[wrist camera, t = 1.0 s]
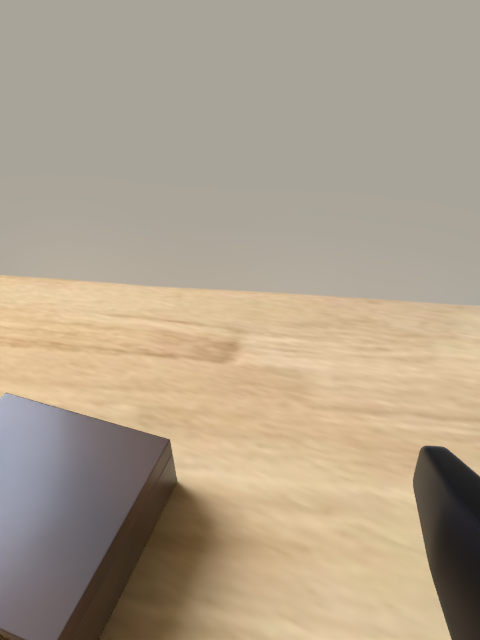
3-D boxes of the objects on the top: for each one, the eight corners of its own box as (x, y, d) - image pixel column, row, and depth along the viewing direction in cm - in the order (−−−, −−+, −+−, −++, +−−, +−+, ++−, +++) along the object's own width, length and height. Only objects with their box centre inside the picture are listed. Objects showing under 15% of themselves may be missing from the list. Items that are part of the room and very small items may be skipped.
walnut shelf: (77, 683, 19) (51, 653, 16) (-113, 592, 21) (-161, 555, 19) (177, 480, 26) (170, 439, 24) (26, 433, 29) (5, 392, 26)
